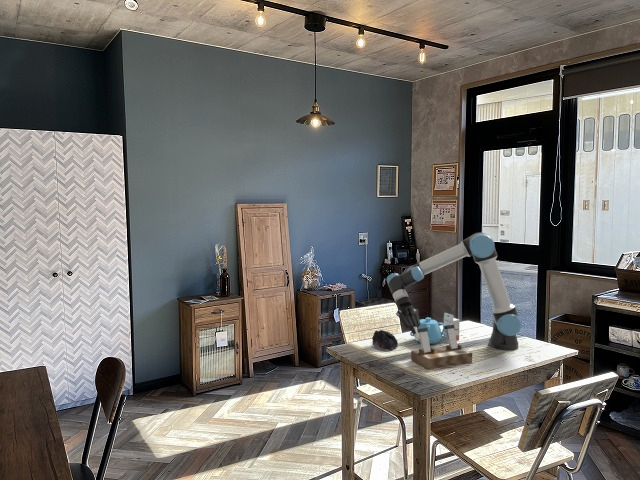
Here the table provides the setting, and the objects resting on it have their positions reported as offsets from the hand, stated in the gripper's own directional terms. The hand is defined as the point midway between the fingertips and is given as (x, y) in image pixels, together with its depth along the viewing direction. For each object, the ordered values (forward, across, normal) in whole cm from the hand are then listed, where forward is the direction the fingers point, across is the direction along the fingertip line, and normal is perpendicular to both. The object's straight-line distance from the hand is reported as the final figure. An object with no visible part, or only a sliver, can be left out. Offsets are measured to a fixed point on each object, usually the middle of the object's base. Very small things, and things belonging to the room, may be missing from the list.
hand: (419, 339), depth 242 cm
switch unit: (+13, -8, -2) cm, 15 cm away
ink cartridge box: (-9, -37, -24) cm, 45 cm away
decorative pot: (-9, -21, -24) cm, 33 cm away
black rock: (-9, +7, -23) cm, 26 cm away
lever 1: (+8, 0, +2) cm, 8 cm away
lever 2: (+8, -16, +2) cm, 18 cm away
